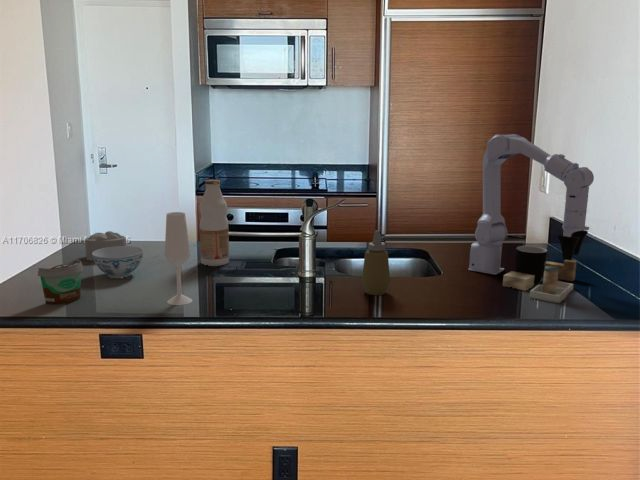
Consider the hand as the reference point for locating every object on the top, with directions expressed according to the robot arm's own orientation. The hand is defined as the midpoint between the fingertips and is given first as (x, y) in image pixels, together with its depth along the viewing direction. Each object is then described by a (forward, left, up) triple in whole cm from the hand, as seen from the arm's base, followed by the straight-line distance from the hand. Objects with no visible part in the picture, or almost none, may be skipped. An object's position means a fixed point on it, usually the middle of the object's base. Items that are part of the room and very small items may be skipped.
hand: (570, 257), depth 169 cm
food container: (-105, -94, -10) cm, 141 cm away
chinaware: (-115, -71, -10) cm, 136 cm away
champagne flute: (-81, -76, -10) cm, 112 cm away
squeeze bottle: (-43, -37, -10) cm, 58 cm away
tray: (-2, -11, -10) cm, 15 cm away
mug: (-12, +3, -10) cm, 16 cm away
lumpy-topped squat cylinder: (-138, -60, -10) cm, 150 cm away
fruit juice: (-103, -42, -10) cm, 112 cm away
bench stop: (-10, +11, -10) cm, 18 cm away
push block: (-13, -5, -10) cm, 17 cm away
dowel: (-2, -11, -9) cm, 14 cm away
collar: (-2, -1, -10) cm, 10 cm away
